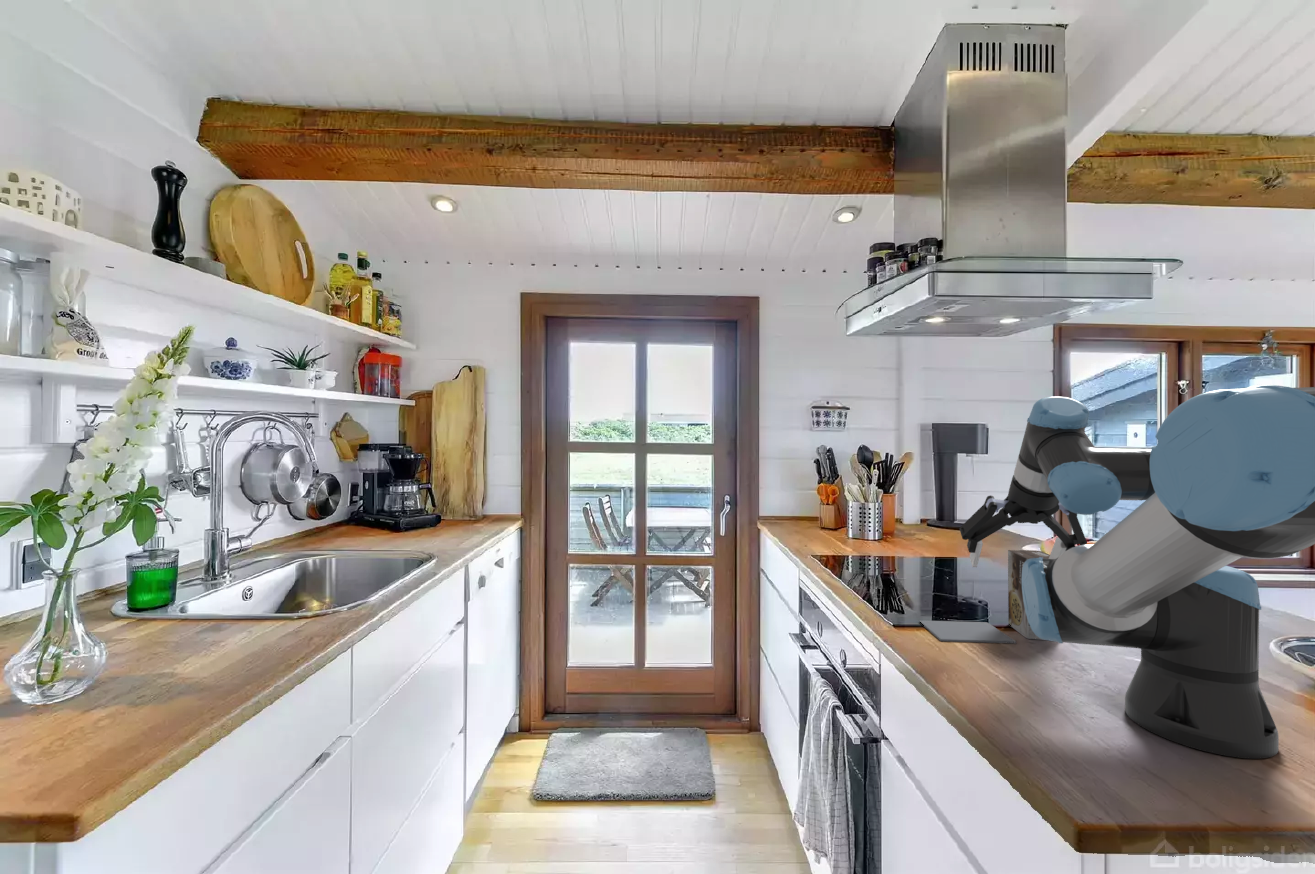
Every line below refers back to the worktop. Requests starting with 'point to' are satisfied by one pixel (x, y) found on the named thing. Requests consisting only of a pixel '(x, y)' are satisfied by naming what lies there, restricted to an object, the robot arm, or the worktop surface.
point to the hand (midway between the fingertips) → (1012, 564)
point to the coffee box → (1019, 590)
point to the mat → (966, 632)
